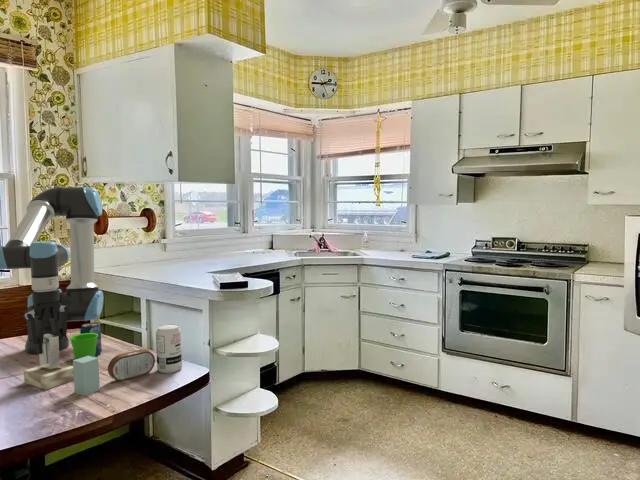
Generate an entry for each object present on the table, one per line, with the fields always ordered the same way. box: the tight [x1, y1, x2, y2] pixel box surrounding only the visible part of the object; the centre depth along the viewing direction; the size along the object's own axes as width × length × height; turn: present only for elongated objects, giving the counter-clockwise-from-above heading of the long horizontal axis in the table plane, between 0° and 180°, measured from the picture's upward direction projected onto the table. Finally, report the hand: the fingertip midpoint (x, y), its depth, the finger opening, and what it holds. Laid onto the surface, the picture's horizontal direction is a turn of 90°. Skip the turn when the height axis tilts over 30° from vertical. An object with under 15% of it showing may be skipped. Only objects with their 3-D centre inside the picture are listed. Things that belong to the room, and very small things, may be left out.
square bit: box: [72, 356, 101, 397], centre depth 141 cm, size 5×5×10 cm
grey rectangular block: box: [39, 334, 61, 369], centre depth 150 cm, size 3×6×10 cm, turn 60°
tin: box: [107, 348, 156, 382], centre depth 153 cm, size 15×3×8 cm, turn 136°
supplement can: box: [155, 323, 183, 374], centre depth 159 cm, size 8×8×15 cm
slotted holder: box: [23, 362, 74, 390], centre depth 150 cm, size 10×12×4 cm
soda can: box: [79, 322, 102, 358], centre depth 175 cm, size 7×7×12 cm
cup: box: [69, 333, 99, 360], centre depth 163 cm, size 9×9×11 cm
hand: (49, 361), depth 150 cm, fingers open, 3 cm apart
